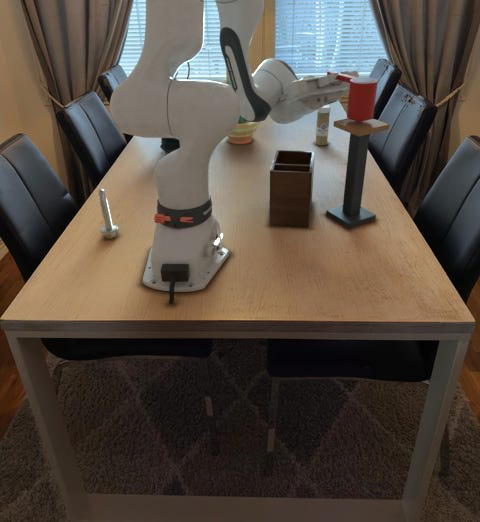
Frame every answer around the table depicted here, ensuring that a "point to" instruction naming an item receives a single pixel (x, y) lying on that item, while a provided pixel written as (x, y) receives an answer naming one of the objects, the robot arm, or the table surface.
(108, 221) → the screw
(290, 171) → the caddy
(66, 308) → the table surface
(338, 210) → the stand
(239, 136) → the potted cactus
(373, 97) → the cup
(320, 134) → the sprinkles bottle
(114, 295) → the table surface
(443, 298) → the table surface
